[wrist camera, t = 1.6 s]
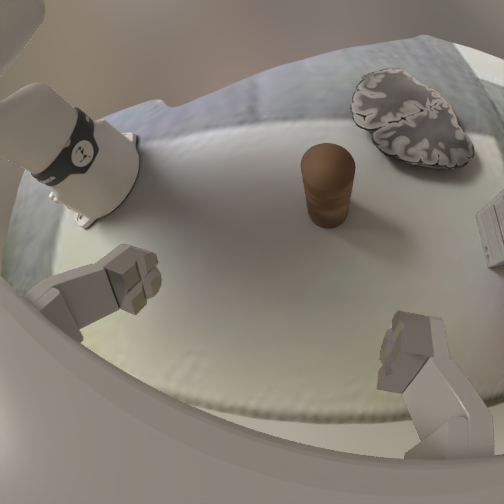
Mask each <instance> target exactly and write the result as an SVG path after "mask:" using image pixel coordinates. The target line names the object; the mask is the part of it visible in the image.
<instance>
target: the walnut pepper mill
mask: <svg viewBox="0 0 504 504" xmlns="http://www.w3.org/2000/svg"><path fill="white" fill-rule="evenodd" d="M301 171H302V177H303V183H304V189H305V195H306V201H307V207H308V213H309V216H310V218H311V220H312V221H313V222H314V223H315V224H316V225H318V226H320V227H323V228H334V227H337V226H339V225H340V224H341V223H342V222H343V221H344V220H345V219H346V216H347V213H348V208H349V203H350V197H351V192H352V186H353V180H354V174H355V162H354V159H353V157H352V156H351V154H350V153H349V152H348V151H347V150H346V149H344V148H343V147H341V146H339V145H336V144H331V143H323V144H318V145H315V146H313V147H311V148H310V149H309V150H308V151H307V152H306V153H305V154H304V156H303V157H302V160H301Z"/></svg>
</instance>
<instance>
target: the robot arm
mask: <svg viewBox="0 0 504 504" xmlns="http://www.w3.org/2000/svg"><path fill="white" fill-rule="evenodd" d="M44 14H45V4H44V0H0V77H1V76H2V74H3V73H4V72H5V71H6V69H7V68H8V67H9V66H10V64H11V63H12V62H13V61H14V60H15V58H16V57H17V56H18V55H19V54H20V53H21V51H22V50H23V49H24V47H25V46H26V44H27V43H28V42H29V40H30V39H31V38H32V36H33V35H34V33H35V32H36V31H37V29H38V28H39V27H40V25H41V24H42V23H43V20H44ZM0 156H1V157H3V158H5V159H7V160H10V161H11V162H13V163H16V164H17V165H19V166H21V167H23V168H25V169H26V170H28V171H30V172H31V175H32V176H33V177H34V178H36V179H37V180H38V181H39V182H41V183H44V184H46V185H47V186H49V187H50V189H51V193H50V195H49V197H50V198H51V199H52V200H53V201H55V202H56V203H58V204H59V203H61V204H62V205H64V206H65V208H66V209H67V210H68V212H69V213H70V214H71V216H72V217H73V218H74V219H75V221H76V222H77V223H78V224H79V226H81V227H82V228H87V227H88V226H90V225H91V224H92V223H93V222H94V221H95V220H96V219H98V218H100V217H103V216H105V215H107V214H109V213H110V212H112V211H113V210H114V209H115V208H117V207H118V206H119V205H120V204H121V202H122V201H123V200H124V199H125V197H126V196H127V195H128V193H129V192H130V190H131V188H132V186H133V184H134V182H135V180H136V177H137V174H138V170H139V155H138V152H137V150H136V135H135V134H133V133H132V132H129V133H121V132H119V131H118V130H117V129H116V128H115V127H113V126H112V125H111V124H110V123H108V122H107V121H106V120H104V119H102V120H96V121H93V120H92V119H91V118H90V117H89V116H88V115H87V114H86V113H85V112H83V111H81V110H80V109H79V108H73V107H72V106H71V105H70V104H69V103H68V102H66V101H65V100H64V99H63V98H62V97H61V96H60V95H59V94H57V93H56V92H55V91H54V90H53V89H52V88H51V87H50V86H49V85H47V84H44V83H32V84H29V85H27V86H25V87H23V88H21V89H19V90H18V91H16V92H15V93H13V94H12V95H10V96H9V97H7V98H6V99H4V100H2V101H0ZM157 264H158V259H157V255H156V254H155V253H153V252H151V251H147V250H144V249H141V248H137V247H133V246H130V245H127V244H121V245H119V246H118V247H117V248H115V249H114V250H112V251H111V252H110V253H108V254H107V255H106V256H104V257H103V258H102V259H100V260H99V261H98V262H97V263H95V264H89V265H86V266H82V267H79V268H76V269H73V270H70V271H67V272H64V273H60V274H57V275H54V276H51V277H48V278H45V279H43V280H42V281H40V282H39V283H38V284H37V285H35V286H34V287H33V288H32V289H31V290H29V291H28V292H27V293H26V294H25V295H23V296H21V295H20V294H19V293H18V292H16V291H15V290H14V289H13V288H12V287H11V286H10V285H9V284H8V283H7V282H6V281H5V280H4V279H3V278H2V277H1V276H0V504H504V454H502V455H496V456H494V428H493V416H492V414H491V412H490V411H489V409H488V408H487V406H486V405H485V403H484V402H483V400H482V399H481V397H480V396H479V394H478V393H477V391H476V390H475V389H474V387H473V386H472V384H471V383H470V381H469V380H468V379H467V377H466V376H465V375H464V373H463V372H462V370H461V369H460V368H459V366H458V365H457V364H456V362H455V361H454V360H450V356H449V350H448V343H447V337H446V332H445V327H444V322H443V319H442V318H439V317H433V316H424V315H419V314H414V313H409V312H403V311H398V310H397V312H396V313H395V315H394V317H393V319H392V328H390V329H389V330H387V332H386V334H385V337H384V339H383V343H382V346H381V351H380V361H381V362H382V366H381V368H380V370H379V372H378V383H377V389H379V390H384V391H390V392H395V393H401V394H402V397H403V400H404V402H405V404H406V406H407V409H408V411H409V413H410V416H411V418H412V420H413V423H414V425H415V428H416V430H417V433H418V435H419V438H420V440H421V442H420V443H419V444H417V445H416V446H414V447H413V448H412V449H410V450H409V451H408V452H406V453H405V457H404V459H395V458H383V457H374V456H366V455H358V454H352V453H345V452H339V451H334V450H329V449H324V448H319V447H314V446H310V445H305V444H301V443H297V442H294V441H290V440H286V439H282V438H279V437H275V436H272V435H269V434H265V433H262V432H259V431H255V430H253V429H250V428H247V427H244V426H241V425H238V424H235V423H233V422H230V421H227V420H225V419H222V418H219V417H217V416H214V415H212V414H209V413H207V412H205V411H202V410H200V409H198V408H195V407H193V406H191V405H188V404H186V403H184V402H182V401H180V400H178V399H176V398H173V397H171V396H169V395H167V394H165V393H163V392H161V391H159V390H157V389H155V388H153V387H152V386H150V385H148V384H146V383H144V382H142V381H140V380H139V379H137V378H135V377H133V376H131V375H130V374H128V373H126V372H125V371H123V370H121V369H119V368H118V367H116V366H115V365H113V364H111V363H110V362H108V361H106V360H105V359H103V358H102V357H100V356H99V355H97V354H96V353H94V352H93V351H91V350H90V349H88V348H87V347H85V346H84V345H82V344H81V342H82V341H83V336H82V334H81V332H80V330H79V329H81V328H83V327H85V326H87V325H89V324H91V323H93V322H95V321H97V320H99V319H101V318H103V317H105V316H107V315H109V314H111V313H113V312H115V311H117V310H119V308H120V309H122V310H125V311H127V312H129V313H132V314H134V315H137V313H138V312H139V311H140V310H141V309H142V308H143V307H144V306H145V305H146V304H147V299H149V298H151V297H154V296H155V295H156V294H157V293H158V291H159V289H160V287H161V282H162V277H161V273H160V271H159V270H158V268H157V267H156V266H157Z"/></svg>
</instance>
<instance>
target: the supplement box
mask: <svg viewBox="0 0 504 504" xmlns="http://www.w3.org/2000/svg"><path fill="white" fill-rule="evenodd" d="M476 219H477V223H478V226H479V230H480V234H481V238H482V243H483V247H484V252H485V256H486V261H487V266H488V268H490V267H495V266H500V265H504V190H503V191H501V192H500V193H499V194H498V195H497V196H496V197H495V198H494V199H493V200H492V201H491V202H489V203H488V204H487V205H486V206H485V207H484V208H483V209H481V210H480V211H479V212H478V213H477V214H476Z"/></svg>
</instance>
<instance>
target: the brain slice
mask: <svg viewBox="0 0 504 504" xmlns="http://www.w3.org/2000/svg"><path fill="white" fill-rule="evenodd" d="M362 79H363V80H362V81H361V82H360V83H359V84H358V85H357V89H356V90H357V91H356V92H355V93H354V94H353V98H352V100H353V103H352V104H351V112H352V113H353V120H354V122H355V124H356V125H357V126H358V127H360V128H363V129H365V130H367V131H369V132H370V133H372V134H373V135H372V140H373V142H374V145H375V146H376V147H377V148H378V149H379V150H380V151H381V152H382V153H384V154H385V155H387V156H390V157H396V158H398V159H399V160H401V161H403V162H405V163H410V164H415V165H418V166H422V167H428V168H433V169H439V168H443V169H446V170H451V169H454V168H456V167H463V166H464V165H466V164H467V163H468V162H469V160H471V159H472V158H473V156H474V147H473V144H472V142H471V141H470V140H469V138H468V136H467V135H466V134H465V133H464V132H463V130H462V129H461V127H460V126H459V124H458V121H457V118H456V116H455V114H454V112H453V109H452V107H451V105H450V104H449V103H448V102H446V101H445V99H444V98H443V97H442V96H441V95H440V94H439V93H438V92H437V91H436V90H434V89H432V88H430V87H428V86H427V85H425V84H423V83H421V82H419V81H418V80H416V79H415V78H414V77H413V76H412V75H410V74H409V73H407V72H406V71H404V70H402V69H384V70H381V71H376V72H372V73H369V74H367V75H363V76H362Z"/></svg>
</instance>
